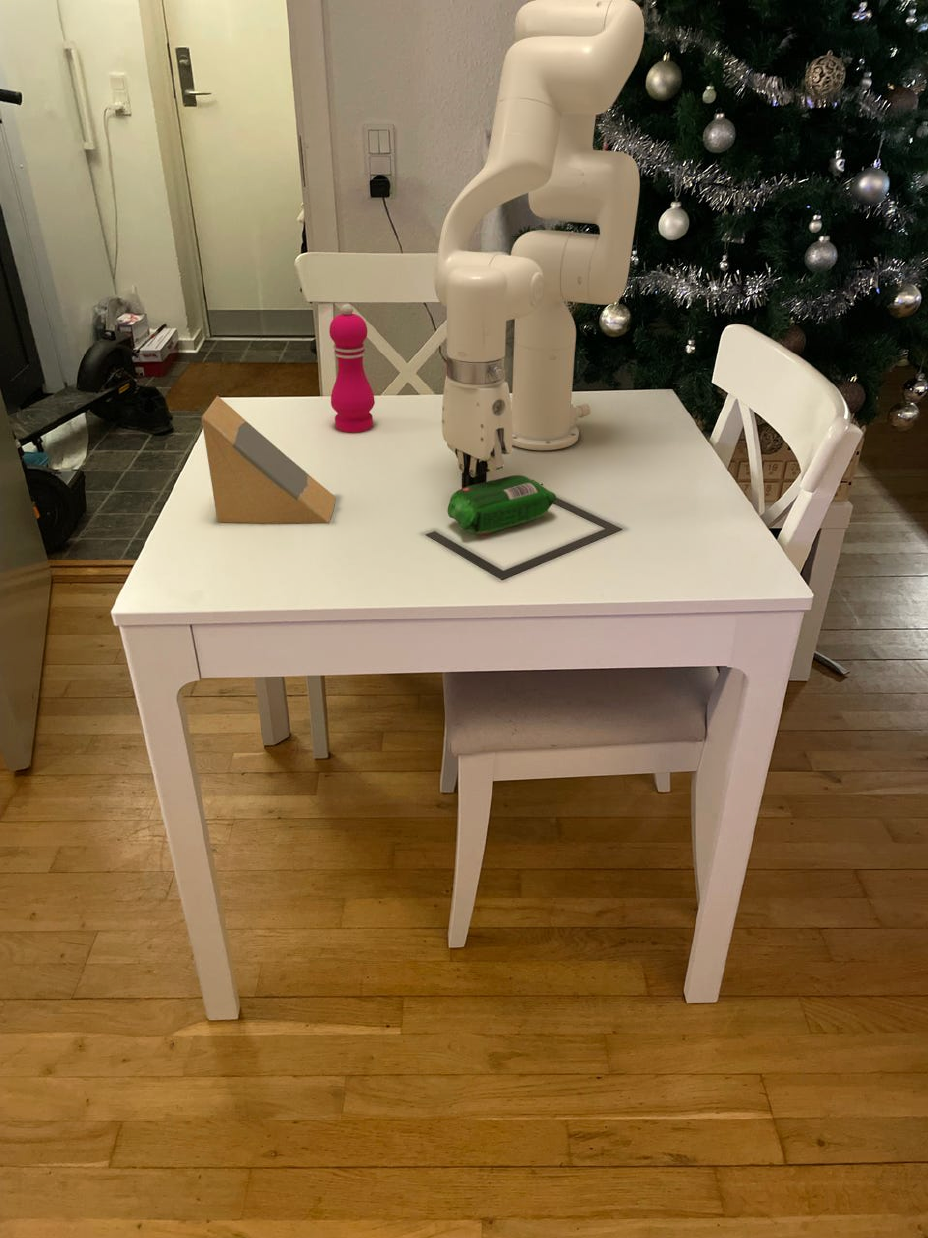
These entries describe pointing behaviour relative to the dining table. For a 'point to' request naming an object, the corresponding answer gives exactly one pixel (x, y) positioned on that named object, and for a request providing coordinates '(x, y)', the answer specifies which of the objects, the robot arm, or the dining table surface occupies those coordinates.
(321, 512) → the sandwich container
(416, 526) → the dining table surface
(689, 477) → the dining table surface
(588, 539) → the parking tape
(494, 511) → the snack package
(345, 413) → the pepper mill
